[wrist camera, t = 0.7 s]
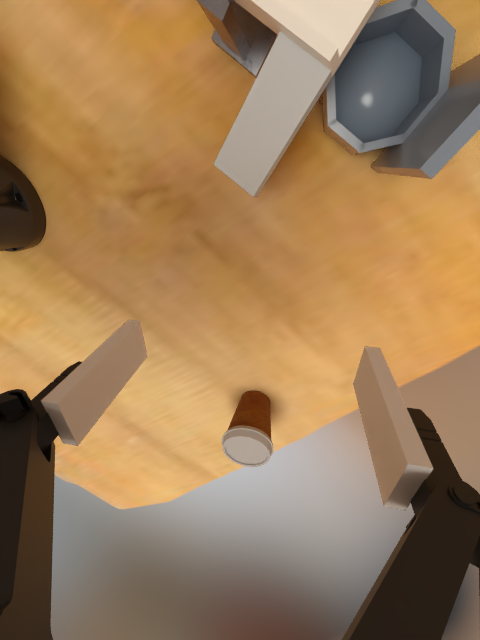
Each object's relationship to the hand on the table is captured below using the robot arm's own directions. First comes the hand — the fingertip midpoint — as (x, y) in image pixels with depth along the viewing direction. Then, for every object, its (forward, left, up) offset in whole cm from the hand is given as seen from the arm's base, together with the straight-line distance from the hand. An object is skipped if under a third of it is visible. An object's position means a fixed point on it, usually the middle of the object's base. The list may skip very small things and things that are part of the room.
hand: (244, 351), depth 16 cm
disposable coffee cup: (+17, -30, -28) cm, 45 cm away
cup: (-1, +19, -28) cm, 34 cm away
